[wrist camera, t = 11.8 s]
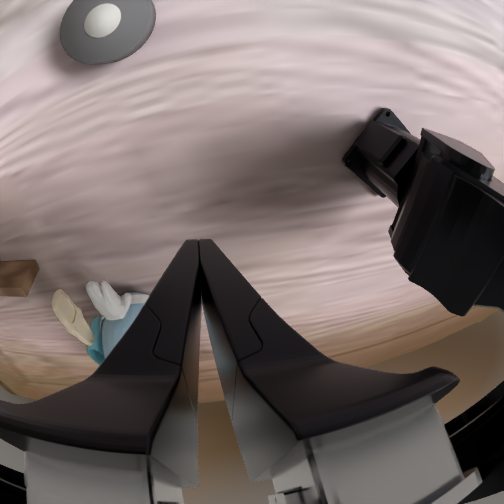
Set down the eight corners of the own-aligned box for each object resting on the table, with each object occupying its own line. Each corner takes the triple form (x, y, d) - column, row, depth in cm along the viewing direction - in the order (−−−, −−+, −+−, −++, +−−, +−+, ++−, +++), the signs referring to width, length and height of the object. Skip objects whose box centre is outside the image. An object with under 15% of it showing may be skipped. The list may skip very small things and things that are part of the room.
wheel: (173, 3, 12) (169, -5, 10) (126, 74, 15) (116, 77, 13) (103, -21, 10) (91, -29, 8) (61, 49, 12) (44, 50, 10)
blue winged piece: (206, 337, 34) (221, 452, 23) (131, 348, 34) (129, 457, 22) (161, 228, 24) (150, 399, 12) (64, 254, 23) (17, 398, 12)
